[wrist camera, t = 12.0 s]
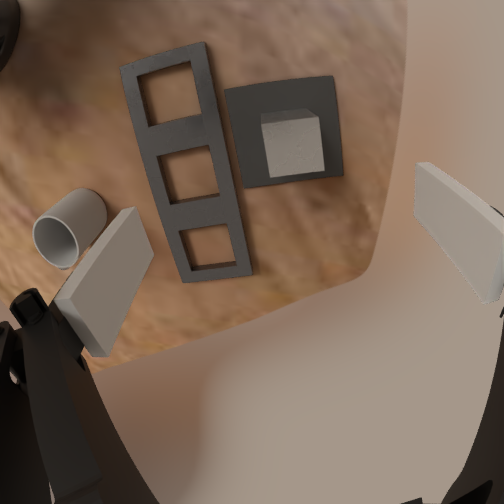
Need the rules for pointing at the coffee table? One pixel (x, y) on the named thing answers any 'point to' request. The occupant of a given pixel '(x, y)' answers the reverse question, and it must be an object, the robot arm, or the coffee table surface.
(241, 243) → the rail
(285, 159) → the grey rectangular block
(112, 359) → the coffee table surface
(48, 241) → the cup
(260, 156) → the rubber mat
